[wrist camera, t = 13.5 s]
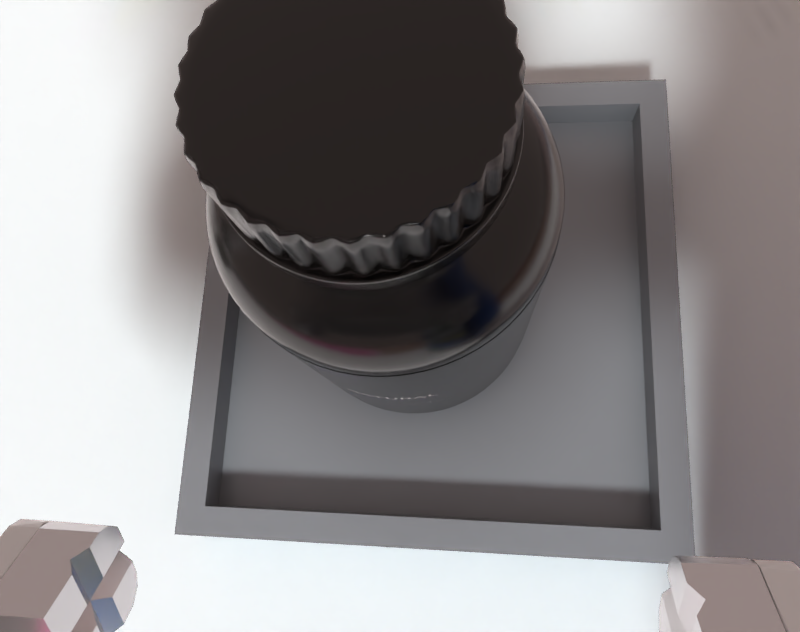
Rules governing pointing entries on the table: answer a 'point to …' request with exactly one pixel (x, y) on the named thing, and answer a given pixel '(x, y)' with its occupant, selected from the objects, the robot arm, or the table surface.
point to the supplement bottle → (375, 186)
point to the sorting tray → (483, 392)
